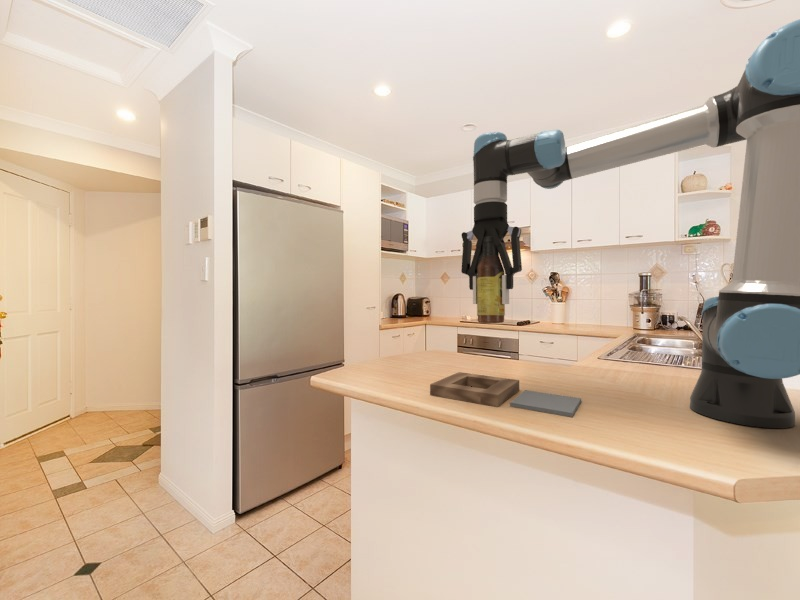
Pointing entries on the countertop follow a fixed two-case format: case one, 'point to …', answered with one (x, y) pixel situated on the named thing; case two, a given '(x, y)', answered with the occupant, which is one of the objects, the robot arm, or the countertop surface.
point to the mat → (547, 403)
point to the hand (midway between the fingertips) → (490, 303)
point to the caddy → (459, 388)
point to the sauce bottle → (490, 284)
